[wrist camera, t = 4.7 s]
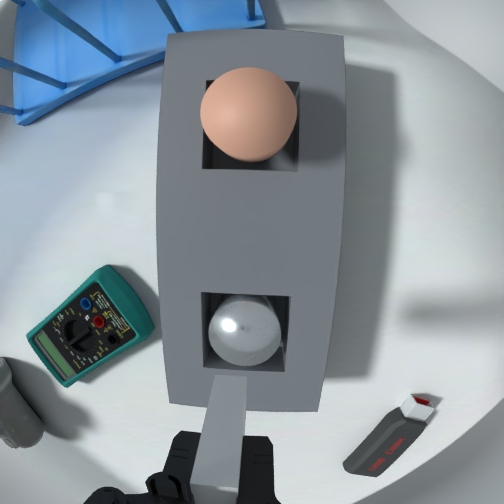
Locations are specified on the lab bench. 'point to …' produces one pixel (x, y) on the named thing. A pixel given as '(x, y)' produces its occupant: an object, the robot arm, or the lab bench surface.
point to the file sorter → (102, 43)
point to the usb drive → (390, 438)
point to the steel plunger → (245, 328)
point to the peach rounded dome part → (249, 114)
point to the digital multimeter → (91, 327)
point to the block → (250, 215)
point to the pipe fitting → (16, 414)
